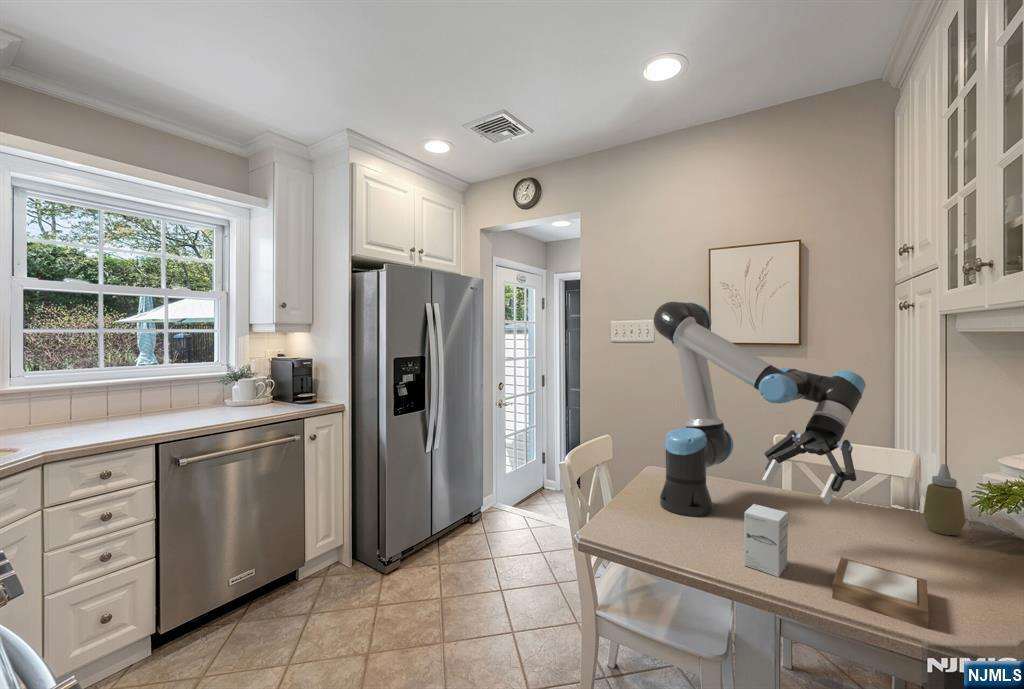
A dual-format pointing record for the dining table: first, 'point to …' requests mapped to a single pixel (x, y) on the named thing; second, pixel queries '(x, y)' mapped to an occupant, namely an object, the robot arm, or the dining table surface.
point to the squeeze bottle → (944, 504)
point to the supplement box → (765, 539)
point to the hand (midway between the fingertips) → (793, 491)
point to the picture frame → (882, 591)
